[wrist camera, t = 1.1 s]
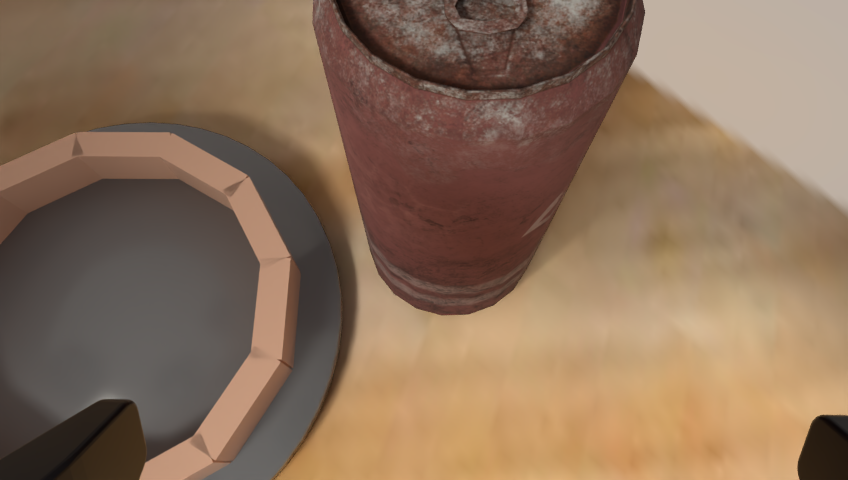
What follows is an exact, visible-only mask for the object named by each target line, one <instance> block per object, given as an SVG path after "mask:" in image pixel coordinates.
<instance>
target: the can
mask: <svg viewBox="0 0 848 480" xmlns="http://www.w3.org/2000/svg"><path fill="white" fill-rule="evenodd" d="M644 15H645V10H644V5H643V0H313V26H314V30H315V34H316V38H317V42H318V46H319V50H320V54H321V58H322V62H323V66H324V70H325V74H326V78H327V82H328V86H329V90H330V93H331V97H332V101H333V105H334V109H335V113H336V117H337V121H338V125H339V129H340V133H341V137H342V141H343V145H344V149H345V153H346V157H347V161H348V165H349V169H350V172H351V176H352V180H353V184H354V188H355V192H356V196H357V200H358V204H359V208H360V212H361V216H362V220H363V224H364V228H365V232H366V236H367V240H368V244H369V247H370V251H371V254H372V257H373V260H374V262H375V265H376V268H377V271H378V274H379V275H380V276H381V278H382V279H383V280H384V281H385V283H386V284H387V285H388V286H389V288H390V289H391V290H392V291H393V293H394V294H395V295H397V296H398V297H400V298H401V299H403V300H405V301H406V302H408V303H409V304H411V305H412V306H414V307H415V308H417V309H421V310H425V311H428V312H432V313H435V314H439V315H463V314H471V313H473V312H476V311H479V310H482V309H484V308H487V307H490V306H493V305H494V304H496V303H497V302H498V301H499V300H501V299H502V298H503V297H504V296H506V295H507V294H508V293H509V292H511V291H512V290H513V289H514V288H515V286H516V284H517V283H518V281H519V280H520V278H521V277H522V275H523V273H524V272H525V270H526V269H527V267H528V265H529V263H530V261H531V259H532V257H533V255H534V253H535V251H536V249H537V247H538V246H539V244H540V242H541V240H542V238H543V236H544V234H545V232H546V230H547V228H548V226H549V224H550V222H551V220H552V218H553V216H554V214H555V212H556V211H557V209H558V207H559V205H560V203H561V201H562V199H563V197H564V195H565V193H566V191H567V189H568V187H569V185H570V183H571V181H572V179H573V178H574V176H575V174H576V172H577V170H578V168H579V166H580V164H581V162H582V160H583V158H584V156H585V154H586V152H587V150H588V148H589V146H590V144H591V143H592V141H593V139H594V137H595V135H596V133H597V131H598V129H599V127H600V125H601V123H602V121H603V119H604V117H605V115H606V113H607V111H608V110H609V108H610V106H611V104H612V102H613V100H614V98H615V96H616V94H617V92H618V90H619V88H620V86H621V84H622V82H623V80H624V78H625V76H626V75H627V73H628V71H629V69H630V67H631V65H632V63H633V61H634V59H635V57H636V55H637V51H638V46H639V41H640V36H641V31H642V25H643V20H644Z"/></svg>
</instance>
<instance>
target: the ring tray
mask: <svg viewBox="0 0 848 480" xmlns="http://www.w3.org/2000/svg"><path fill="white" fill-rule="evenodd" d="M341 332H342V293H341V287H340V280H339V273H338V269H337V265H336V262H335V259H334V255H333V252H332V248H331V245H330V243H329V241H328V238H327V236H326V234H325V232H324V230H323V228H322V225H321V223H320V221H319V219H318V217H317V215H316V213H315V212H314V210H313V209H312V207H311V205H310V204H309V202H308V201H307V199H306V198H305V196H304V195H303V193H302V192H301V191H300V190H299V189H298V188H297V187H296V185H295V184H294V183H293V182H292V181H291V180H290V179H289V177H288V176H287V175H285V174H284V173H283V172H282V171H281V170H280V169H279V168H277V167H276V166H275V165H274V164H273V163H272V162H270V161H269V160H268V159H266V158H265V157H263V156H262V155H260V154H259V153H257V152H255V151H254V150H252V149H251V148H249V147H247V146H245V145H243V144H241V143H239V142H237V141H235V140H232V139H230V138H228V137H226V136H223V135H220V134H217V133H214V132H210V131H207V130H204V129H200V128H195V127H189V126H184V125H178V124H165V123H135V124H122V125H116V126H110V127H103V128H98V129H94V130H90V131H87V132H77V134H76V133H75V132H74V133H72V134H70V135H68V136H66V137H63V138H61V139H59V140H57V141H54V142H52V143H50V144H48V145H45V146H43V147H41V148H39V149H36V150H34V151H32V152H30V153H28V154H25V155H23V156H21V157H19V158H16V159H14V160H12V161H10V162H7V163H5V164H3V165H1V166H0V459H1V458H3V457H4V456H6V455H8V454H9V453H11V452H13V451H14V450H16V449H18V448H19V447H21V446H23V445H25V444H26V443H28V442H30V441H31V440H33V439H35V438H36V437H38V436H40V435H41V434H43V433H45V432H46V431H48V430H50V429H51V428H53V427H55V426H56V425H58V424H60V423H62V422H63V421H65V420H67V419H68V418H70V417H72V416H73V415H75V414H77V413H78V412H80V411H82V410H83V409H85V408H87V407H88V406H90V405H92V404H93V403H95V402H97V401H99V400H102V399H129V400H131V401H133V402H135V404H136V405H137V408H138V411H139V416H140V420H141V425H142V429H143V433H144V438H145V442H146V448H147V455H146V461H145V465H144V468H143V471H142V474H141V476H140V479H139V480H274V479H275V478H276V477H277V476H278V474H279V473H280V472H281V471H282V470H283V469H284V468H285V467H286V465H287V464H288V463H289V461H290V460H291V458H292V457H293V456H294V454H295V453H296V451H297V450H298V448H299V447H300V446H301V444H302V443H303V441H304V440H305V438H306V437H307V435H308V433H309V431H310V429H311V427H312V425H313V424H314V422H315V420H316V418H317V416H318V414H319V413H320V411H321V408H322V405H323V403H324V400H325V398H326V395H327V393H328V390H329V388H330V385H331V382H332V379H333V375H334V371H335V367H336V363H337V359H338V355H339V349H340V340H341Z"/></svg>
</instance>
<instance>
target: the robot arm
mask: <svg viewBox="0 0 848 480" xmlns="http://www.w3.org/2000/svg"><path fill="white" fill-rule="evenodd" d="M146 455H147V448H146V442H145V438H144V433H143V429H142V425H141V420H140V416H139V411H138V408H137V405H136V404H135V402H133V401H131V400H129V399H102V400H99V401H97V402H95V403H93V404H92V405H90V406H88V407H87V408H85V409H83V410H82V411H80V412H78V413H77V414H75V415H73V416H72V417H70V418H68V419H67V420H65V421H63V422H62V423H60V424H58V425H56V426H55V427H53V428H51V429H50V430H48V431H46V432H45V433H43V434H41V435H40V436H38V437H36V438H35V439H33V440H31V441H30V442H28V443H26V444H25V445H23V446H21V447H19V448H18V449H16V450H14V451H13V452H11V453H9V454H8V455H6V456H4V457H3V458H1V459H0V480H139V479H140V476H141V474H142V471H143V468H144V465H145V461H146ZM798 476H799V479H800V480H848V416H847V415H820V416H817V417H816V418H815V419H814V420H813V421H812V423H811V426H810V429H809V431H808V434H807V437H806V440H805V443H804V446H803V448H802V451H801V454H800V457H799V460H798Z"/></svg>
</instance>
